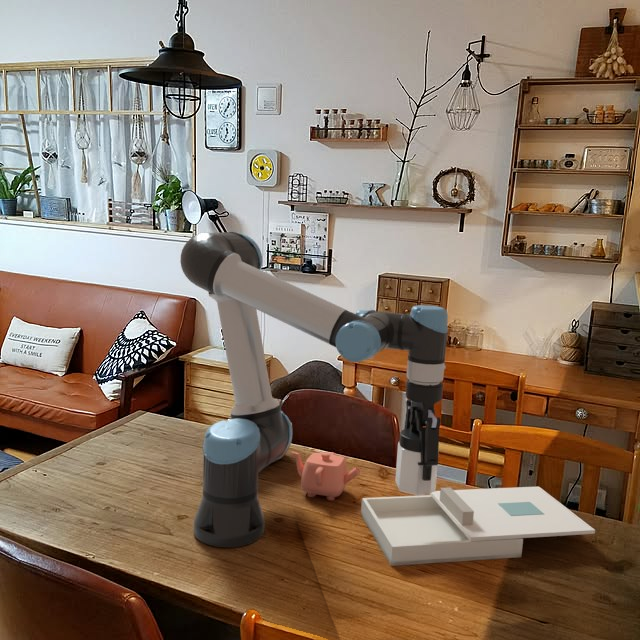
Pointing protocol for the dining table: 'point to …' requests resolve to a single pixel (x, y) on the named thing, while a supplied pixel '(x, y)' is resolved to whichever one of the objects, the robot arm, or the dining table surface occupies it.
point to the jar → (410, 463)
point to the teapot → (324, 474)
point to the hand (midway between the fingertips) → (417, 485)
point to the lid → (509, 513)
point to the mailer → (426, 533)
